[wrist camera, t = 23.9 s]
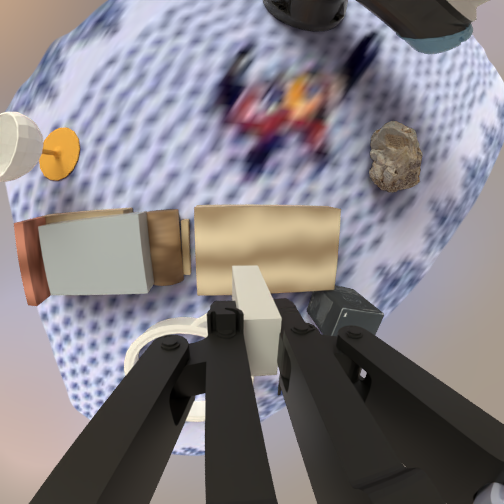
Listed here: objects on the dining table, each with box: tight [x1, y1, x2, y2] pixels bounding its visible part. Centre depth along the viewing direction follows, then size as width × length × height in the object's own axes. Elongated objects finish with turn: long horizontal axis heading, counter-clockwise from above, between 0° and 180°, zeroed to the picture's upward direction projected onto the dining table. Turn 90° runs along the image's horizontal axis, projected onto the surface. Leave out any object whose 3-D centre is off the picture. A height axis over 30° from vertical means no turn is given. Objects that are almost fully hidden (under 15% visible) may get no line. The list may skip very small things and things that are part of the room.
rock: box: [369, 121, 422, 193], centre depth 37 cm, size 9×12×10 cm
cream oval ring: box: [124, 313, 254, 422], centre depth 43 cm, size 29×22×5 cm
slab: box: [38, 211, 154, 295], centre depth 32 cm, size 10×16×4 cm, turn 92°
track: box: [14, 205, 341, 306], centre depth 35 cm, size 12×46×10 cm, turn 89°
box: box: [307, 286, 384, 336], centre depth 40 cm, size 8×6×11 cm
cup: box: [0, 112, 80, 182], centre depth 26 cm, size 9×9×16 cm
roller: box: [147, 209, 184, 286], centre depth 37 cm, size 10×5×5 cm
